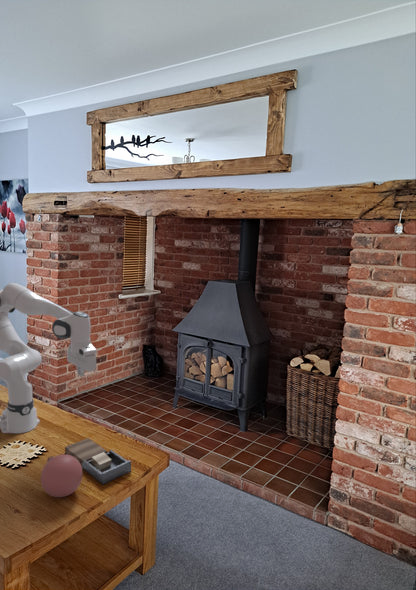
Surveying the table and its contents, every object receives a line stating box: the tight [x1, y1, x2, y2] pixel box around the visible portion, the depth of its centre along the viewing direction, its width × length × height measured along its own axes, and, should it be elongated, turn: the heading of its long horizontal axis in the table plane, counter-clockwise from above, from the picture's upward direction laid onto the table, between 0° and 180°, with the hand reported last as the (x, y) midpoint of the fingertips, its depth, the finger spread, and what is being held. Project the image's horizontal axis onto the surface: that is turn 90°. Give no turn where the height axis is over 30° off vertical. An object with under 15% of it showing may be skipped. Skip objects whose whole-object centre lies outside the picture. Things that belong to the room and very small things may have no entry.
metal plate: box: [64, 437, 108, 466], centre depth 196 cm, size 16×12×3 cm
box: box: [82, 449, 132, 486], centre depth 184 cm, size 16×14×5 cm
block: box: [91, 452, 111, 470], centre depth 187 cm, size 6×6×3 cm
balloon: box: [40, 453, 84, 498], centre depth 169 cm, size 15×20×15 cm
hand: (80, 375), depth 200 cm, fingers closed
